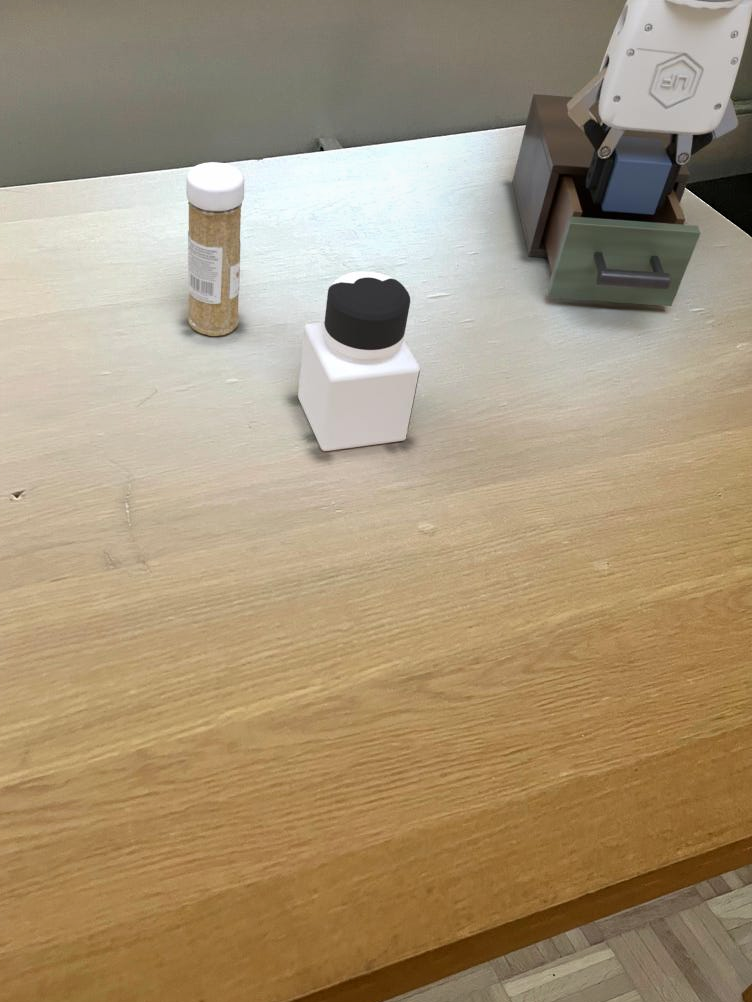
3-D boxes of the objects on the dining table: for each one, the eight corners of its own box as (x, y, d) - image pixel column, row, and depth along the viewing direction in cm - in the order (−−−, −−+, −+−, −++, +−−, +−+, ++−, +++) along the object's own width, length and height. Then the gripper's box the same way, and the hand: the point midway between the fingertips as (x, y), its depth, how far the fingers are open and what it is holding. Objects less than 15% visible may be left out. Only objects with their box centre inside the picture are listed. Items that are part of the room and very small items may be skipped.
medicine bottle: (407, 442, 84) (434, 310, 75) (321, 453, 82) (338, 320, 73) (378, 387, 88) (400, 255, 79) (296, 397, 87) (309, 264, 77)
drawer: (681, 334, 94) (712, 259, 89) (554, 325, 94) (577, 249, 88) (643, 229, 105) (669, 157, 100) (530, 221, 105) (549, 148, 100)
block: (644, 189, 96) (661, 138, 93) (654, 215, 93) (672, 164, 90) (594, 185, 96) (609, 134, 93) (602, 211, 93) (618, 160, 90)
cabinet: (656, 265, 103) (690, 175, 96) (528, 256, 103) (553, 164, 96) (629, 190, 112) (658, 103, 105) (511, 182, 112) (533, 93, 105)
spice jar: (249, 327, 93) (256, 178, 82) (207, 344, 91) (209, 194, 80) (217, 302, 95) (221, 154, 84) (176, 318, 93) (174, 169, 82)
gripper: (598, -21, 78) (535, 213, 92) (824, -3, 78) (727, 227, 92) (582, -57, 83) (525, 170, 97) (795, -40, 83) (708, 184, 97)
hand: (625, 196), depth 94 cm, fingers closed on block, 4 cm apart
